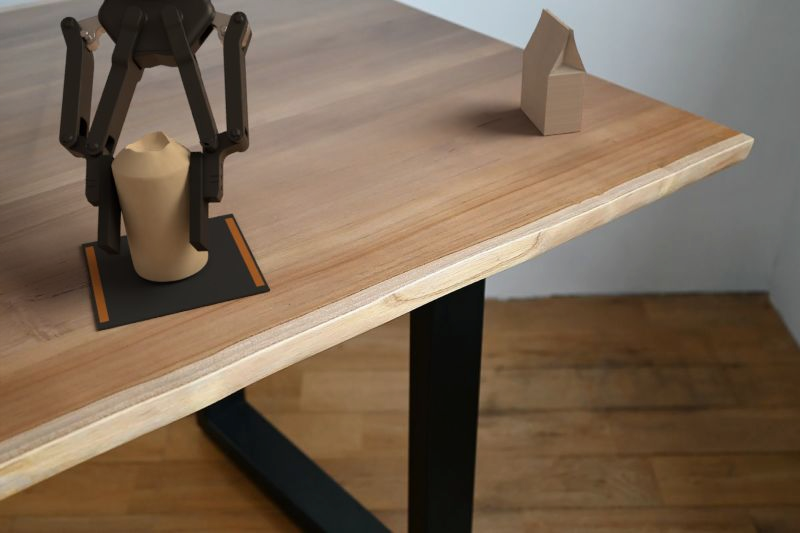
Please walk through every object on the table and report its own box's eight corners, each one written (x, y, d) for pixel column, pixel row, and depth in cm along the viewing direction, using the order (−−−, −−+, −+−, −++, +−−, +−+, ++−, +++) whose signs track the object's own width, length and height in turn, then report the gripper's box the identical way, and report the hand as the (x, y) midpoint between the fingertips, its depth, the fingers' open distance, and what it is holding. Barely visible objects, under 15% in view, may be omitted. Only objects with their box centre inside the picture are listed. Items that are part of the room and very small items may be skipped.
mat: (82, 245, 71) (81, 243, 71) (232, 214, 75) (232, 213, 75) (98, 330, 62) (98, 329, 62) (270, 290, 65) (269, 289, 65)
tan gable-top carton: (543, 135, 86) (551, 32, 81) (520, 108, 92) (525, 10, 86) (580, 131, 87) (590, 28, 81) (554, 104, 92) (562, 6, 87)
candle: (160, 237, 71) (137, 119, 66) (222, 249, 69) (203, 129, 64) (119, 275, 67) (90, 151, 61) (183, 288, 65) (160, 163, 60)
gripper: (289, -32, 72) (293, 255, 67) (53, -24, 71) (40, 264, 67) (277, -88, 64) (280, 230, 59) (14, -80, 64) (-4, 240, 59)
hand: (154, 248), depth 63 cm, fingers closed on candle, 5 cm apart
